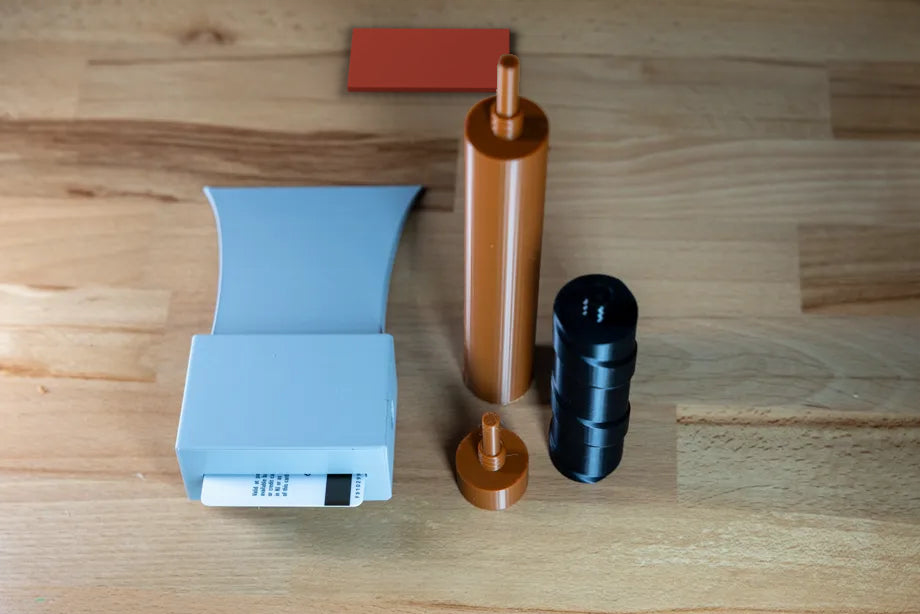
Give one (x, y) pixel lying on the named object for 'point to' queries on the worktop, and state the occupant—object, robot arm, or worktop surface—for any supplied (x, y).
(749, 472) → the worktop surface
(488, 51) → the pad
